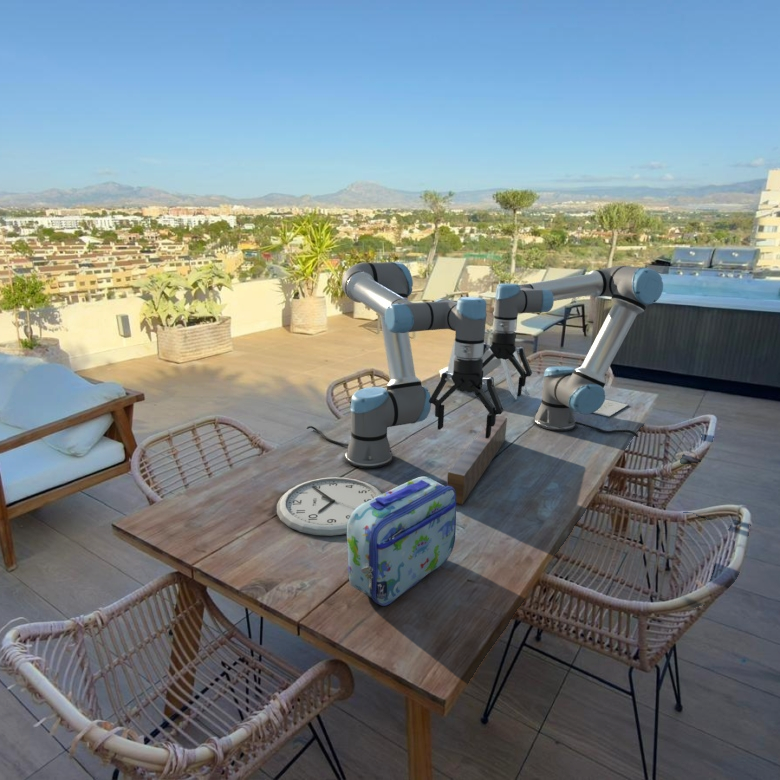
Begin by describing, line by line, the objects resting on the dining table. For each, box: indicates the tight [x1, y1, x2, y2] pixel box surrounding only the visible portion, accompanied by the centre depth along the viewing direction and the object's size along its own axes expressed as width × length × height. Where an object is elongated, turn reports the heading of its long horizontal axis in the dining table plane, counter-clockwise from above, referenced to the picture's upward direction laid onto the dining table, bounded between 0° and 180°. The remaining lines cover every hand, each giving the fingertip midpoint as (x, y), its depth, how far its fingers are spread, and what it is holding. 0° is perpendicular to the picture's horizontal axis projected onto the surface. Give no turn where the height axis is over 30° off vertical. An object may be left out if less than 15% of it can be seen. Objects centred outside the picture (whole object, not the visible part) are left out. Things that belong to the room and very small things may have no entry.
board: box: [446, 415, 508, 505], centre depth 166 cm, size 51×5×9 cm, turn 155°
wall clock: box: [276, 476, 384, 537], centre depth 142 cm, size 30×2×30 cm
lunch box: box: [346, 475, 457, 607], centre depth 111 cm, size 26×11×21 cm, turn 134°
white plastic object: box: [438, 310, 531, 400], centre depth 245 cm, size 37×45×31 cm
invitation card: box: [591, 398, 629, 418], centre depth 226 cm, size 21×1×15 cm
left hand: (463, 432), depth 144 cm, fingers open, 13 cm apart
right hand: (499, 392), depth 179 cm, fingers open, 13 cm apart
